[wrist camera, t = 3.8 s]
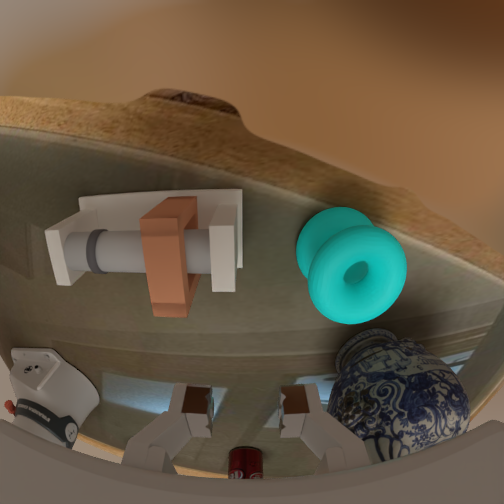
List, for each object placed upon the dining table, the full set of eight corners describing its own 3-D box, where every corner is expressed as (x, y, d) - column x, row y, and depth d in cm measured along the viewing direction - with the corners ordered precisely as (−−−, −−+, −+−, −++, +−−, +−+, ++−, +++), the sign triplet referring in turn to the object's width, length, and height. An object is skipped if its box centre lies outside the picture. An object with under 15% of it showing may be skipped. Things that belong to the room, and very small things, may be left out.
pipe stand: (92, 263, 34) (56, 297, 25) (81, 196, 30) (37, 216, 22) (242, 265, 34) (241, 307, 26) (242, 188, 31) (239, 207, 22)
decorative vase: (440, 335, 39) (519, 459, 14) (367, 403, 45) (405, 529, 19) (364, 276, 35) (478, 469, 9) (278, 367, 41) (294, 548, 15)
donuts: (303, 330, 26) (320, 226, 22) (289, 281, 35) (299, 200, 31) (395, 327, 26) (422, 235, 22) (364, 283, 35) (379, 208, 32)
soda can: (228, 458, 52) (226, 502, 41) (229, 445, 49) (227, 493, 38) (260, 459, 52) (262, 503, 41) (263, 446, 50) (266, 493, 39)
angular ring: (174, 273, 31) (153, 316, 23) (168, 196, 28) (139, 218, 20) (201, 273, 31) (187, 317, 23) (196, 195, 28) (177, 217, 20)
